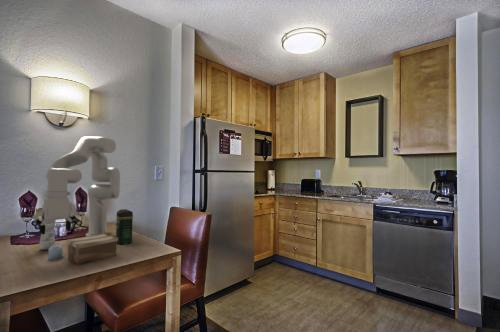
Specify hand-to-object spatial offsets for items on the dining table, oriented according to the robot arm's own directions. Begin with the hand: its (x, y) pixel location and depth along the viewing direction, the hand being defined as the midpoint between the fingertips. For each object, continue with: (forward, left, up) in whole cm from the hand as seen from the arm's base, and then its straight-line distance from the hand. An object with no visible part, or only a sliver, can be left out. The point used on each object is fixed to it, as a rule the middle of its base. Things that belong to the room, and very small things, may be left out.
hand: (55, 232), depth 121 cm
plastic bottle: (-18, +2, -12) cm, 22 cm away
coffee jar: (-1, +33, -12) cm, 36 cm away
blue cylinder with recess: (0, 0, -12) cm, 12 cm away
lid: (+12, +11, -5) cm, 17 cm away
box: (+12, +11, -12) cm, 20 cm away
